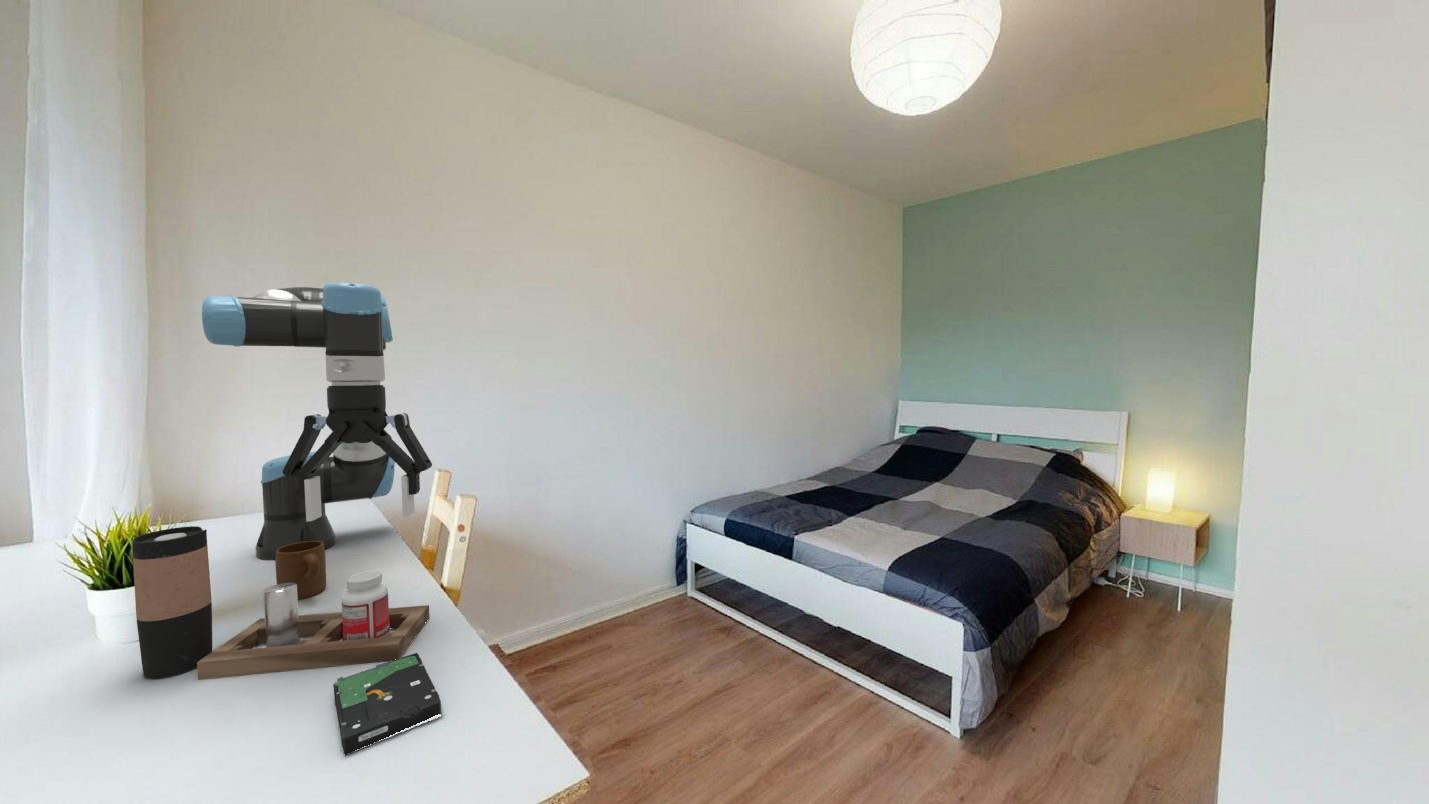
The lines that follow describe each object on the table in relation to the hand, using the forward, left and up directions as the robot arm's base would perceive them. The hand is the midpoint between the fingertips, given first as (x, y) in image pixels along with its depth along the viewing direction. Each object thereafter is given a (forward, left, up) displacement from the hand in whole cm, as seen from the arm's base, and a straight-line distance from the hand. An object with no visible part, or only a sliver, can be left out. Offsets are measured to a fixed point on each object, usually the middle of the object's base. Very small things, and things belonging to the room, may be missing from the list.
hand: (362, 516), depth 81 cm
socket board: (0, -6, -21) cm, 22 cm away
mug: (-21, -20, -21) cm, 36 cm away
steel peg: (0, -12, -21) cm, 24 cm away
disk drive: (+18, +10, -21) cm, 29 cm away
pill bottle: (0, 0, -21) cm, 21 cm away
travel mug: (+2, -25, -21) cm, 32 cm away
